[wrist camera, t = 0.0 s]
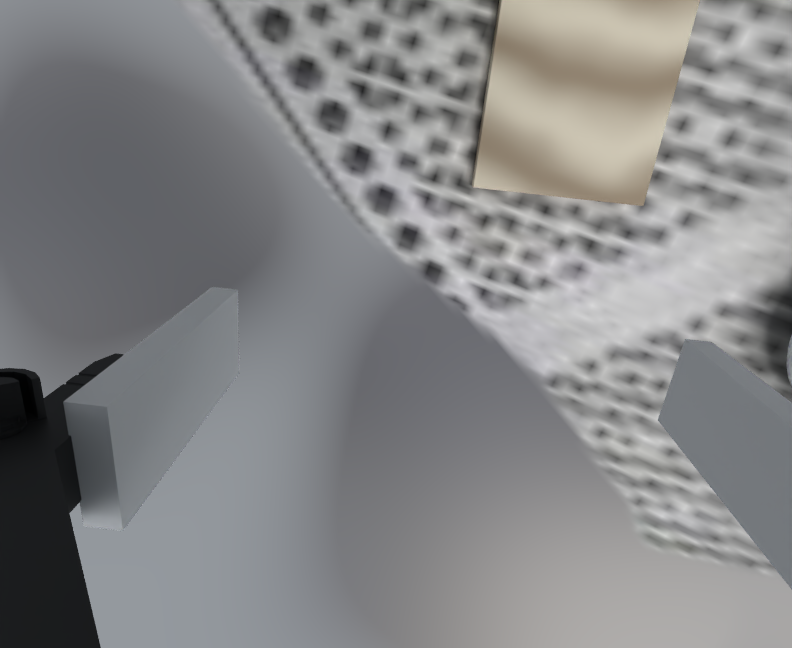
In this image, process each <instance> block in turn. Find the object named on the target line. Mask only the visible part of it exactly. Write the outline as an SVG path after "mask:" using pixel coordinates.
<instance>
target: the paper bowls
mask: <svg viewBox="0 0 792 648" xmlns="http://www.w3.org/2000/svg"><path fill="white" fill-rule="evenodd" d="M786 365H787V374H788V379H789V382H790V384H791V386H792V336H791V338H790V342H789V346H788V354H787V360H786Z"/></svg>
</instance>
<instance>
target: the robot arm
mask: <svg viewBox="0 0 792 648" xmlns="http://www.w3.org/2000/svg"><path fill="white" fill-rule="evenodd" d="M238 327H239V323H238V290H235V289H226V288H217V287H211V288H210V289H209V290H208V291H206V292H205V293H204V294H202V295H201V296H200V297H198V298H197V299H196V300H195V301H193V302H192V303H191V304H189V305H188V306H187V307H185V308H184V309H183V310H182V311H180V312H179V313H178V314H176V315H175V316H174V317H172V318H171V319H170V320H169V321H167V322H166V323H165V324H163V325H162V326H161V327H159V328H158V329H157V330H156V331H154V332H153V333H152V334H150V335H149V336H148V337H147V338H146V339H144V340H143V341H141V342H140V343H139V344H138V345H136V346H135V347H134V348H132V349H131V350H130V351H128V352H127V353H126V354H124V355H123V354H113V355H111V356H108V357H106V358H103V359H100V360H98V361H95V362H93V363H92V364H91V365H89V366H88V367H86V368H85V369H84V370H82V371H81V372H80V373H79V375H75V376H74V377H73V378H71V379H70V380H68V381H67V382H66V385H64V384H63V385H62V386H60V387H59V388H57V389H56V390H55V391H53V392H52V393H51V394H49V395H48V396H46V397H45V398H43V393H42V387H41V382H40V378H39V376H38V375H37V374H36V373H35V372H32V371H29V370H26V369H14V368H6V369H0V648H101V647H100V643H99V639H98V635H97V630H96V626H95V621H94V617H93V613H92V609H91V604H90V600H89V596H88V592H87V588H86V583H85V579H84V574H83V570H82V566H81V561H80V557H79V553H78V549H77V544H76V540H75V536H74V531H73V527H72V523H71V519H70V515H69V513H70V512H71V511H72V510H73V508H75V506H76V505H77V504H78V503H79V502H80V506H81V513H82V519H83V525H84V526H87V527H95V528H104V529H113V530H121V531H123V530H124V528H125V527H126V526H127V525H128V523H129V522H130V521H131V519H132V518H133V517H134V515H135V514H136V513H137V511H138V510H139V508H140V507H141V506H142V504H143V503H144V502H145V500H146V499H147V498H148V496H149V495H150V494H151V492H152V491H153V490H154V488H155V487H156V485H157V484H158V483H159V481H160V480H161V479H162V477H163V476H164V475H165V473H166V472H167V471H168V469H169V468H170V466H171V465H172V464H173V462H174V461H175V460H176V458H177V457H178V456H179V454H180V453H181V452H182V450H183V449H184V448H185V446H186V445H187V443H188V442H189V441H190V439H191V438H192V437H193V435H194V434H195V433H196V431H197V430H198V429H199V427H200V426H201V425H202V423H203V422H204V420H205V419H206V418H207V416H208V415H209V414H210V412H211V411H212V410H213V408H214V407H215V405H216V404H217V403H218V401H219V400H220V399H221V397H222V396H223V395H224V393H225V392H226V391H227V389H228V388H229V386H230V385H231V384H232V383H233V381H234V380H235V379H236V377H237V376H238V374H239V330H238V329H239V328H238ZM658 421H659V422H660V423H661V425H662V426H663V427H664V429H665V430H666V431H667V432H668V434H669V435H670V436H671V437H672V439H673V440H674V441H675V442H676V444H677V445H678V446H679V447H680V449H681V450H682V451H683V453H684V454H685V455H686V456H687V458H688V459H689V460H690V461H691V463H692V464H693V465H694V466H695V468H696V469H697V470H698V471H699V473H700V474H701V475H702V477H703V478H704V479H705V480H706V482H707V483H708V484H709V485H710V487H711V488H712V489H713V490H714V492H715V493H716V494H717V496H718V497H719V498H720V499H721V501H722V502H723V503H724V504H725V506H726V507H727V508H728V509H729V511H730V512H731V513H732V514H733V516H734V517H735V518H736V520H737V521H738V522H739V523H740V525H741V526H742V527H743V528H744V530H745V531H746V532H747V533H748V535H749V536H750V537H751V539H752V540H753V541H754V542H755V544H756V545H757V546H758V547H759V549H760V550H761V551H762V552H763V554H764V555H765V556H766V557H767V559H768V560H769V561H770V563H771V564H772V565H773V566H774V568H775V569H776V570H777V571H778V573H779V574H780V575H781V576H782V578H783V579H784V580H785V581H786V583H787V584H788V585H789V587H790V588H791V589H792V403H791V402H790V401H789V400H788V399H786V398H785V397H784V396H782V395H781V394H780V393H778V392H777V391H776V390H774V389H773V388H772V387H770V386H769V385H768V384H766V383H765V382H764V381H762V380H761V379H760V378H758V377H757V376H756V375H755V374H753V373H752V372H751V371H749V370H748V369H747V368H745V367H744V366H743V365H741V364H740V363H739V362H737V361H736V360H735V359H733V358H732V357H731V356H729V355H728V354H727V353H725V352H724V351H723V350H721V349H720V348H719V347H718V346H716V345H715V344H714V343H712V342H707V341H698V340H689V339H685V341H684V344H683V347H682V350H681V353H680V356H679V359H678V362H677V365H676V368H675V371H674V374H673V377H672V380H671V383H670V386H669V389H668V392H667V395H666V398H665V401H664V403H663V406H662V409H661V412H660V415H659V418H658Z"/></svg>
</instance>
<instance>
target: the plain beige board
mask: <svg viewBox="0 0 792 648" xmlns="http://www.w3.org/2000/svg"><path fill="white" fill-rule="evenodd" d="M699 2H700V0H499V7H498V13H497V20H496V27H495V33H494V40H493V47H492V53H491V60H490V67H489V73H488V80H487V86H486V93H485V100H484V106H483V113H482V120H481V126H480V133H479V140H478V146H477V153H476V160H475V166H474V173H473V180H472V186H473V187H474V188H483V189H492V190H502V191H511V192H520V193H529V194H538V195H548V196H557V197H566V198H575V199H584V200H594V201H603V202H612V203H621V204H630V205H640V206H643V205H644V201H645V198H646V194H647V190H648V187H649V183H650V179H651V176H652V172H653V169H654V165H655V161H656V158H657V154H658V150H659V147H660V143H661V140H662V136H663V132H664V129H665V125H666V121H667V118H668V114H669V111H670V107H671V103H672V100H673V96H674V92H675V89H676V85H677V82H678V78H679V74H680V71H681V67H682V63H683V60H684V56H685V53H686V49H687V45H688V42H689V38H690V34H691V31H692V27H693V24H694V20H695V16H696V13H697V9H698V6H699Z"/></svg>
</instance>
